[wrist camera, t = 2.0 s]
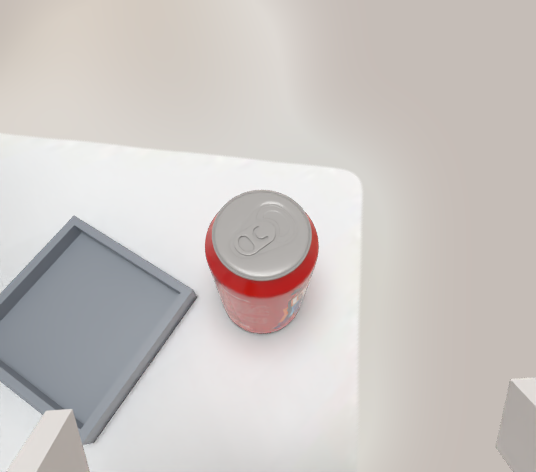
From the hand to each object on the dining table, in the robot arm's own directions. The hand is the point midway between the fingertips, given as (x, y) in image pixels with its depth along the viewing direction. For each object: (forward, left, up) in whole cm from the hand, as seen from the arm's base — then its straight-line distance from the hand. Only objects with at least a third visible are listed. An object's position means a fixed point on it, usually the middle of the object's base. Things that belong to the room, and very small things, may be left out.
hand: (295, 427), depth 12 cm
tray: (-20, -2, -24) cm, 31 cm away
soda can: (-7, +9, -24) cm, 27 cm away
